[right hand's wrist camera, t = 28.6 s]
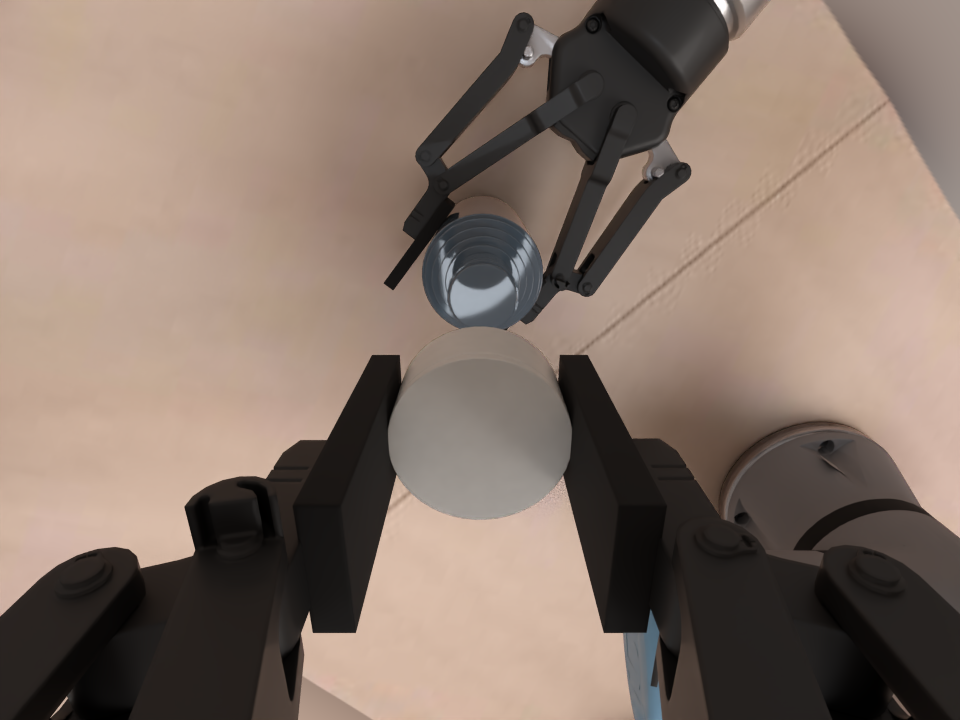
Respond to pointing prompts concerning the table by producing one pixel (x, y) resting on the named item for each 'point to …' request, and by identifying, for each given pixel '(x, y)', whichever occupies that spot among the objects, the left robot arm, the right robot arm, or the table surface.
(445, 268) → the bottle
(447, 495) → the cap
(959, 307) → the table surface
